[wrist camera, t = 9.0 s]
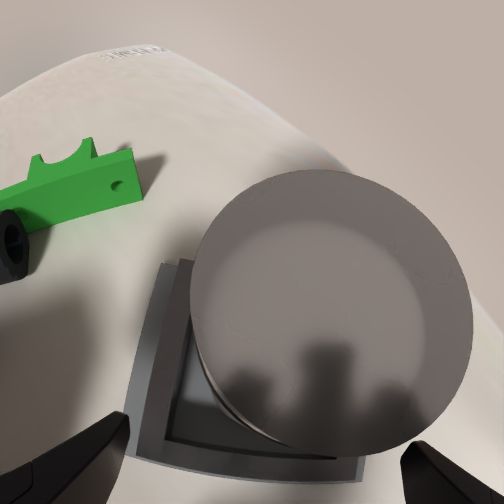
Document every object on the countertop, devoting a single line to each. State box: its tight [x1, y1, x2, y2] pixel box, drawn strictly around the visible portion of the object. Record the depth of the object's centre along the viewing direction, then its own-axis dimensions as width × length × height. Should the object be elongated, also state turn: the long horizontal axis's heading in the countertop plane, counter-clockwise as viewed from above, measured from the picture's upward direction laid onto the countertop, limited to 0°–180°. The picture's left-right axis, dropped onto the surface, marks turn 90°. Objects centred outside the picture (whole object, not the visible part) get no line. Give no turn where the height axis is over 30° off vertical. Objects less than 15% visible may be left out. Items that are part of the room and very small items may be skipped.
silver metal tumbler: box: [190, 170, 473, 457], centre depth 10 cm, size 5×5×13 cm
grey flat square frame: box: [123, 263, 366, 484], centre depth 16 cm, size 12×14×1 cm
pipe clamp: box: [0, 137, 143, 234], centre depth 19 cm, size 11×4×5 cm, turn 110°
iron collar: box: [136, 258, 359, 482], centre depth 15 cm, size 11×11×2 cm
